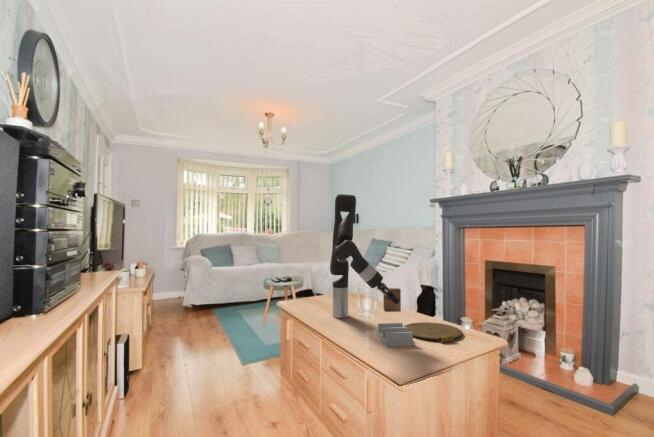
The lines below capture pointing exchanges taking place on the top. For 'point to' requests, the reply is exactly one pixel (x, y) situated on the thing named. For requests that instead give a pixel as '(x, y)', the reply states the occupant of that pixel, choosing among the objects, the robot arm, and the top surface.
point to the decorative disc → (434, 331)
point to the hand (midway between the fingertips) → (396, 301)
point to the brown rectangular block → (389, 304)
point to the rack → (395, 334)
